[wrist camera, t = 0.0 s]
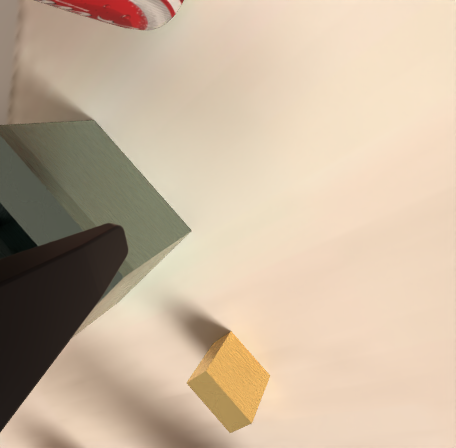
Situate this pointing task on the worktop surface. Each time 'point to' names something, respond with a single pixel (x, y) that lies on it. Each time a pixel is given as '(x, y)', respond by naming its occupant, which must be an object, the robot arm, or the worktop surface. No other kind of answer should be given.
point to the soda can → (122, 11)
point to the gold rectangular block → (230, 382)
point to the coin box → (81, 198)
